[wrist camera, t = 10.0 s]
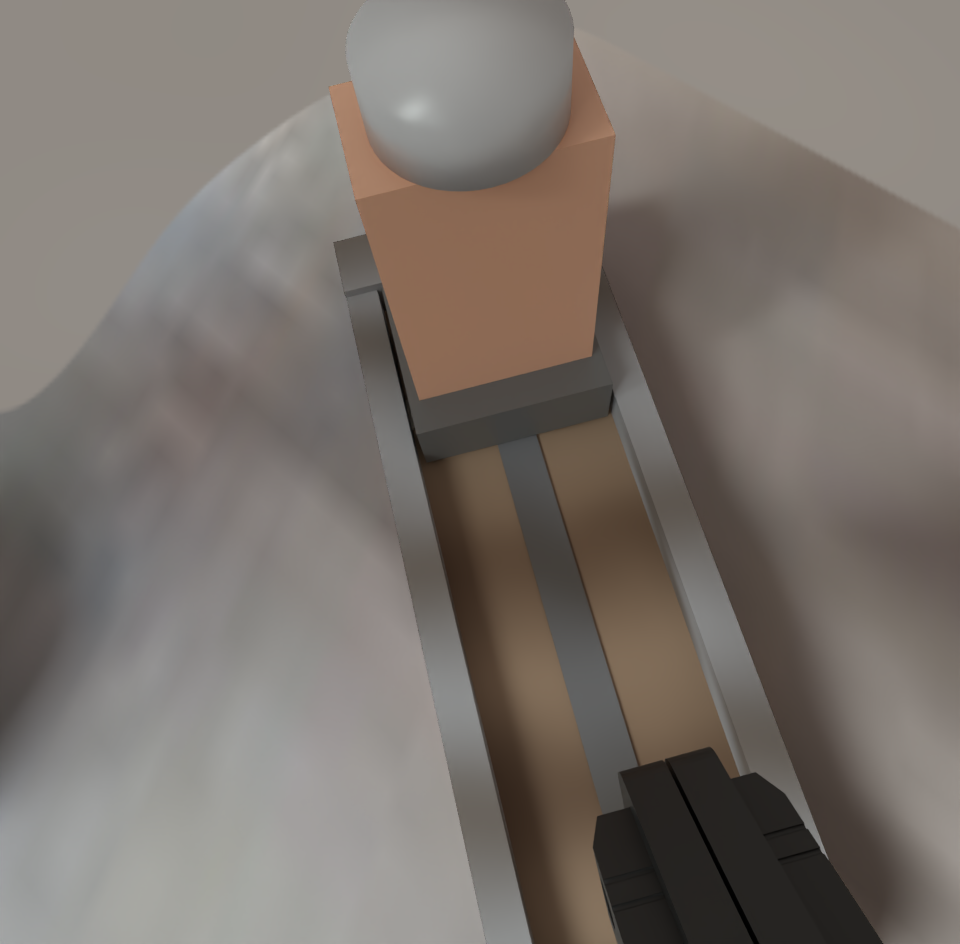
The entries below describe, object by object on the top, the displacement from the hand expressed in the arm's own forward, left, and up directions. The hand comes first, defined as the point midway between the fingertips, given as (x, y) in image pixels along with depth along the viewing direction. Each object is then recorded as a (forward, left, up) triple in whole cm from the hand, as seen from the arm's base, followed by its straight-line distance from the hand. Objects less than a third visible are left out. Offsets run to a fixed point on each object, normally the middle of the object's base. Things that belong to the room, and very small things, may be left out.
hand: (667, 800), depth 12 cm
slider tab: (-9, +9, -8) cm, 15 cm away
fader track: (-4, +4, -10) cm, 12 cm away
